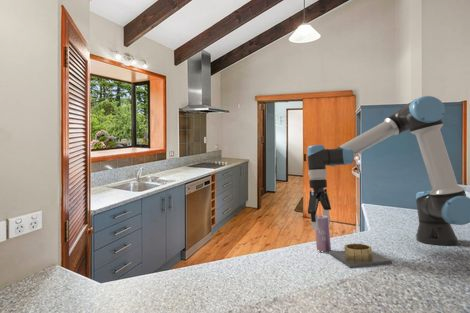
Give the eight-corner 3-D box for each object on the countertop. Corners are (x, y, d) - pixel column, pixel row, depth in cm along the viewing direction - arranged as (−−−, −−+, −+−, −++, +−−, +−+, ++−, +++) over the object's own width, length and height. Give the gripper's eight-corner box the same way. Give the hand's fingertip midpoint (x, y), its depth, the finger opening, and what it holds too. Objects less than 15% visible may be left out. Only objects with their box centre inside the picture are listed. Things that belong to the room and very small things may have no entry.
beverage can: (330, 249, 116) (327, 215, 117) (331, 253, 110) (328, 217, 112) (317, 248, 118) (314, 215, 119) (316, 252, 112) (313, 217, 114)
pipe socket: (366, 251, 110) (365, 240, 110) (391, 263, 94) (390, 250, 94) (330, 254, 108) (329, 243, 109) (350, 267, 92) (348, 254, 93)
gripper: (320, 178, 129) (323, 221, 127) (297, 180, 110) (300, 231, 108) (335, 178, 124) (339, 222, 122) (314, 179, 105) (318, 232, 103)
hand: (321, 226), depth 115 cm, fingers open, 13 cm apart
